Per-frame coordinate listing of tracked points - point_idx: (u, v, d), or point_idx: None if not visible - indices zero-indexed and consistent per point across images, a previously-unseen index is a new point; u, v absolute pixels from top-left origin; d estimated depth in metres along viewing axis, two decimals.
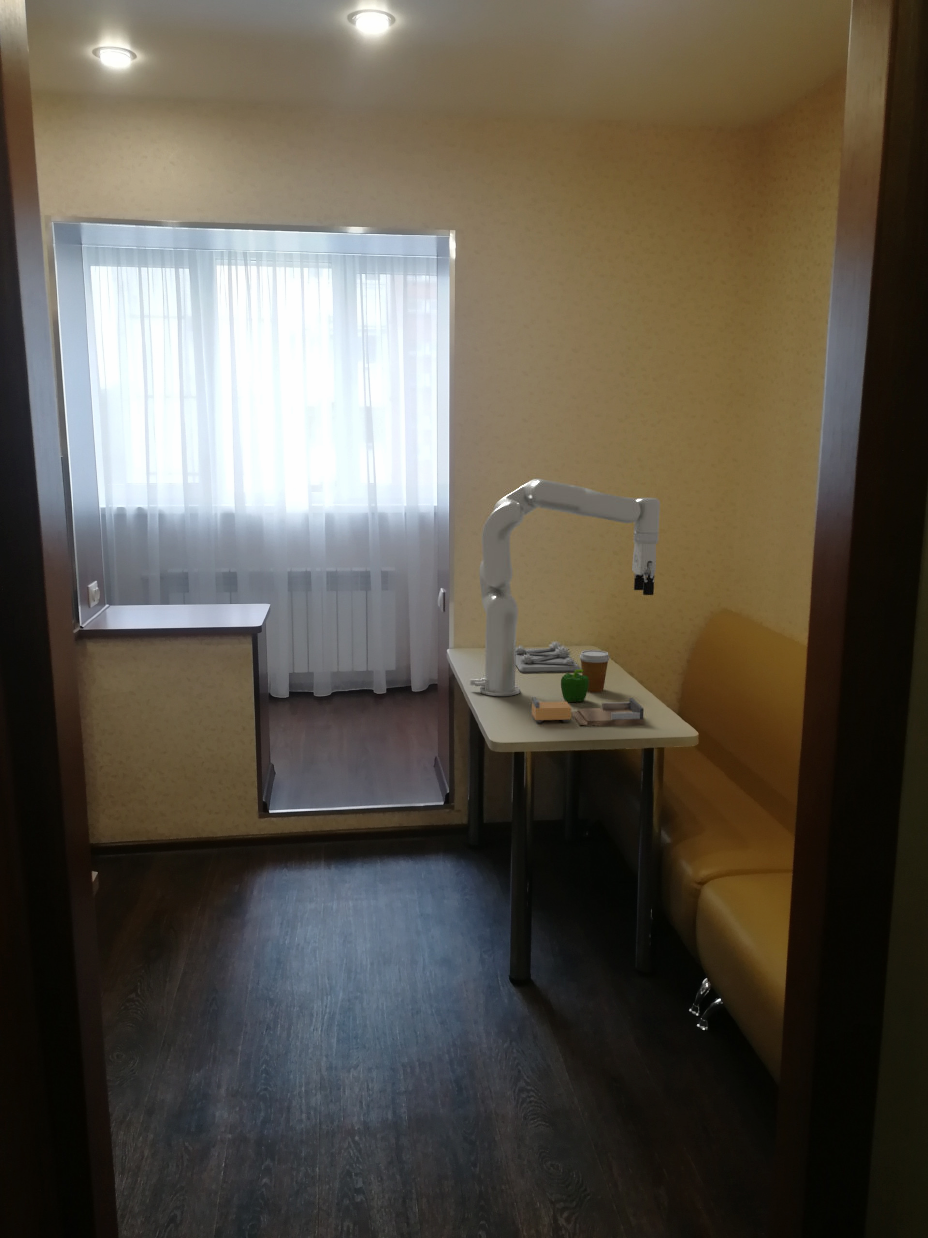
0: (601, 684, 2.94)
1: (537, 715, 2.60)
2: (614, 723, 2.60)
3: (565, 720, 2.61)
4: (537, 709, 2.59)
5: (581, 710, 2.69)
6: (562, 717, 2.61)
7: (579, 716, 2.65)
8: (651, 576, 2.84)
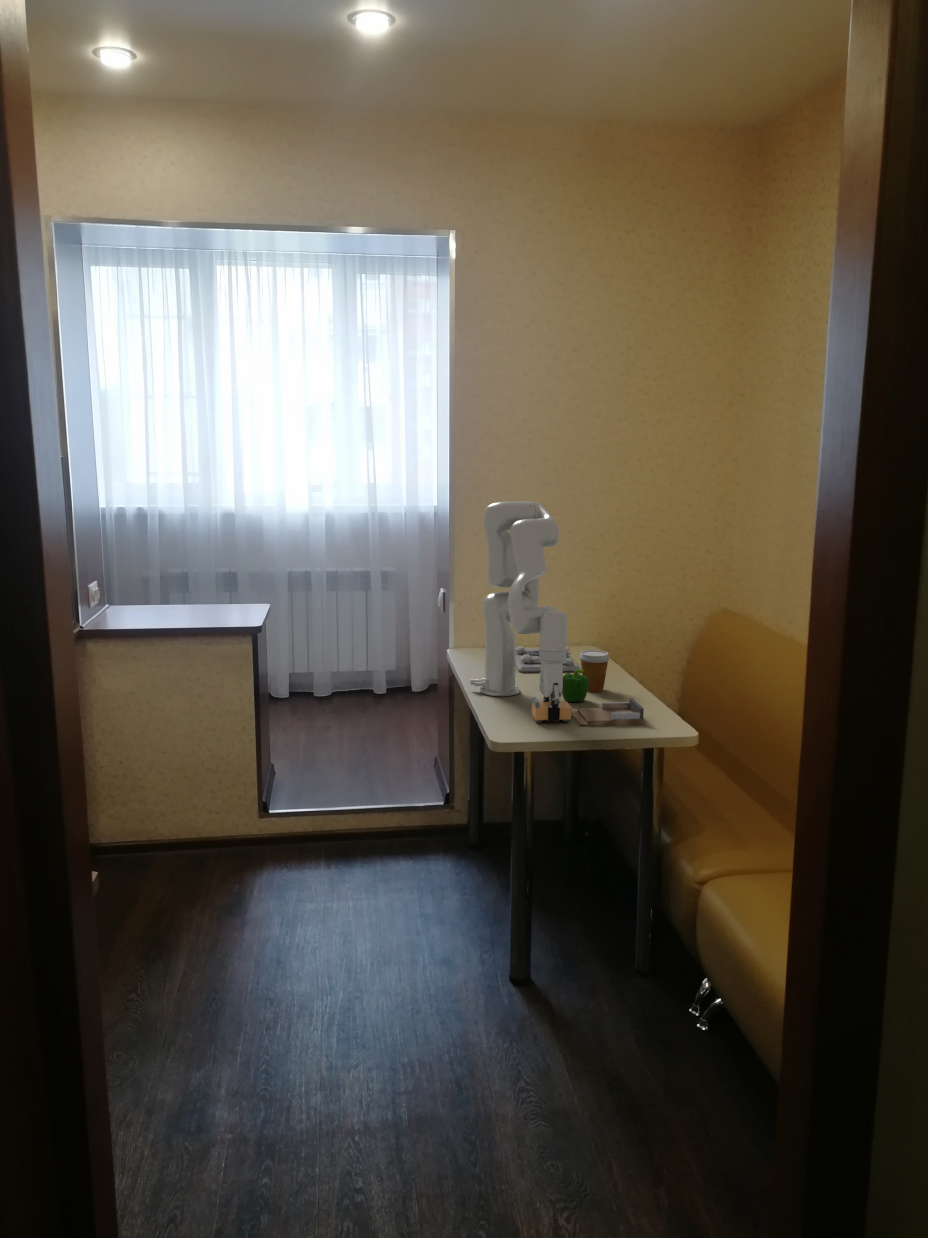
0: (601, 684, 2.94)
1: (537, 715, 2.60)
2: (614, 723, 2.60)
3: (565, 720, 2.61)
4: (537, 709, 2.59)
5: (581, 710, 2.69)
6: (562, 717, 2.61)
7: (579, 716, 2.65)
8: (555, 703, 2.56)
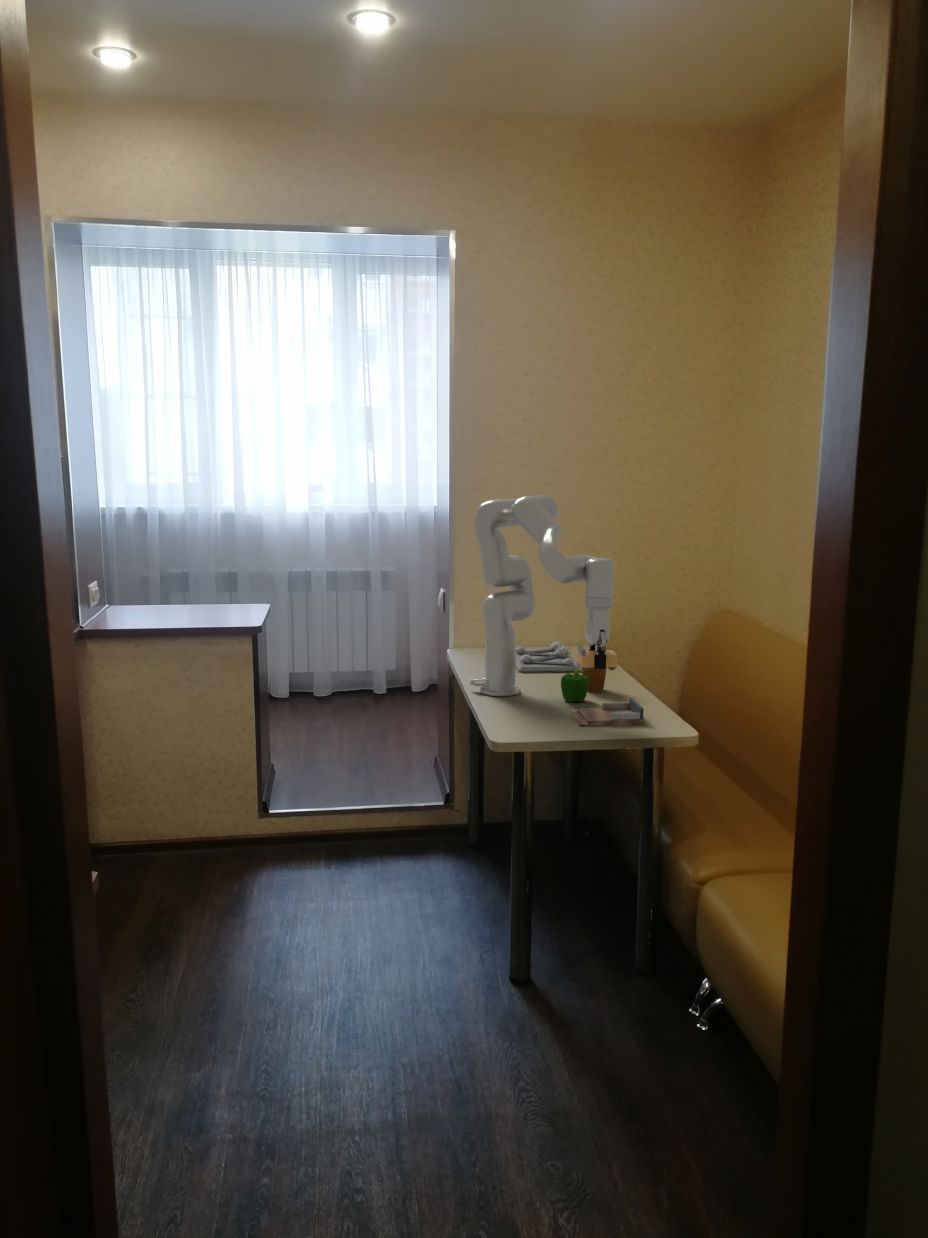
0: (601, 684, 2.94)
1: (583, 662, 2.58)
2: (614, 723, 2.60)
3: (611, 668, 2.59)
4: (583, 656, 2.58)
5: (581, 710, 2.69)
6: (608, 665, 2.59)
7: (579, 716, 2.65)
8: (602, 649, 2.55)
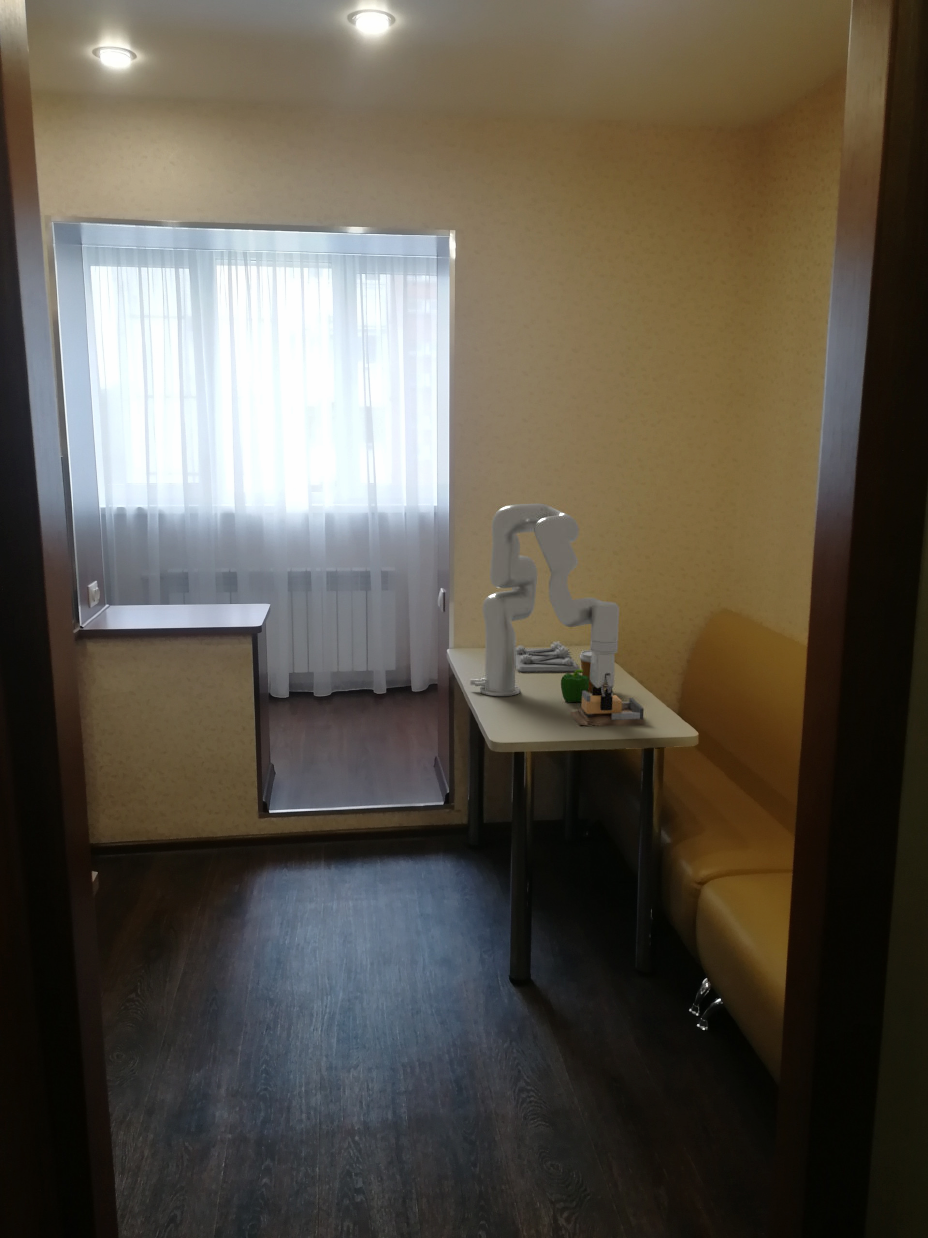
0: None
1: (588, 709, 2.61)
2: (614, 723, 2.60)
3: None
4: (588, 703, 2.61)
5: (581, 710, 2.69)
6: (613, 711, 2.62)
7: (579, 716, 2.65)
8: (609, 691, 2.56)
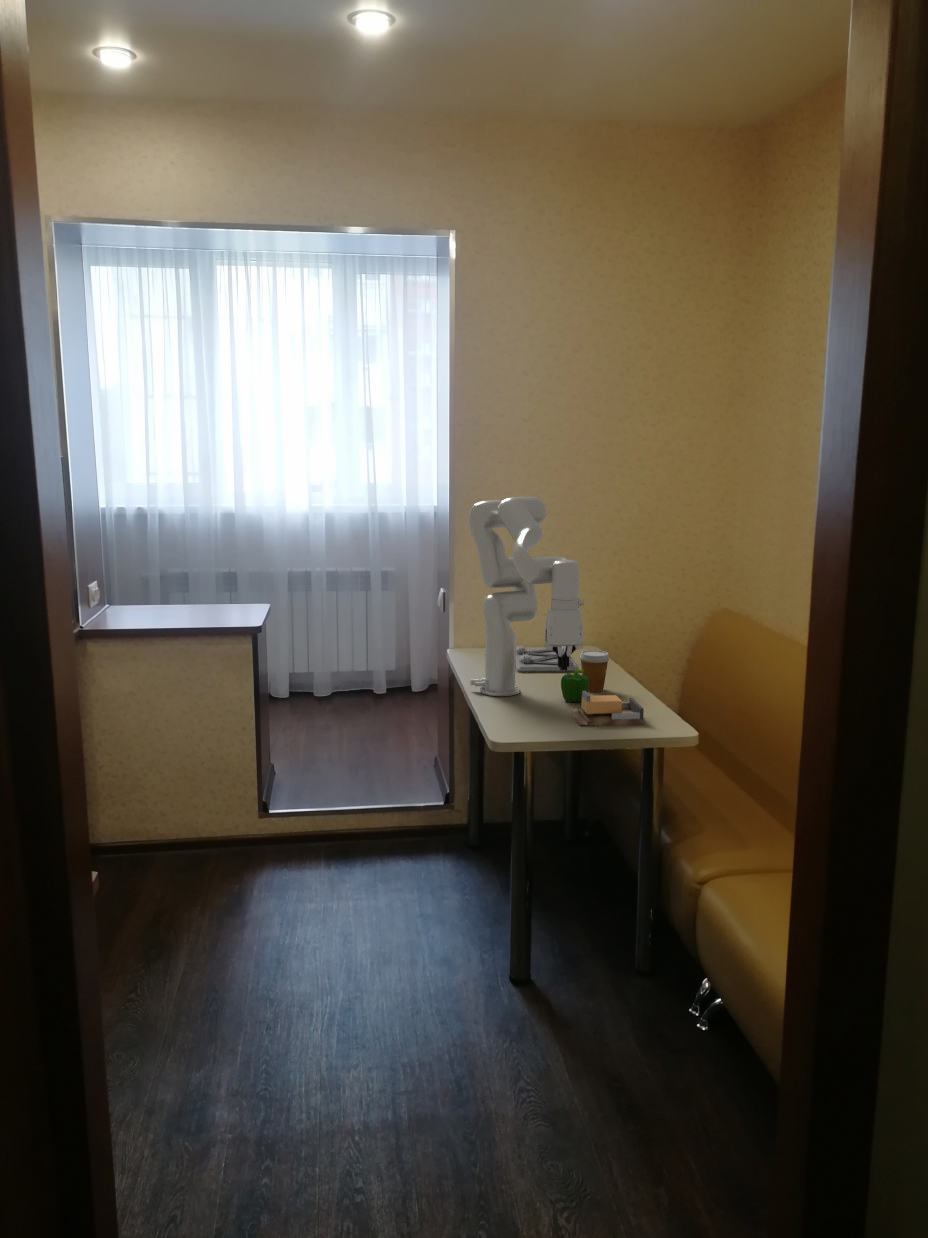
0: (601, 684, 2.94)
1: (588, 709, 2.61)
2: (614, 723, 2.60)
3: None
4: (588, 703, 2.61)
5: (581, 710, 2.69)
6: (613, 711, 2.62)
7: (579, 716, 2.65)
8: None
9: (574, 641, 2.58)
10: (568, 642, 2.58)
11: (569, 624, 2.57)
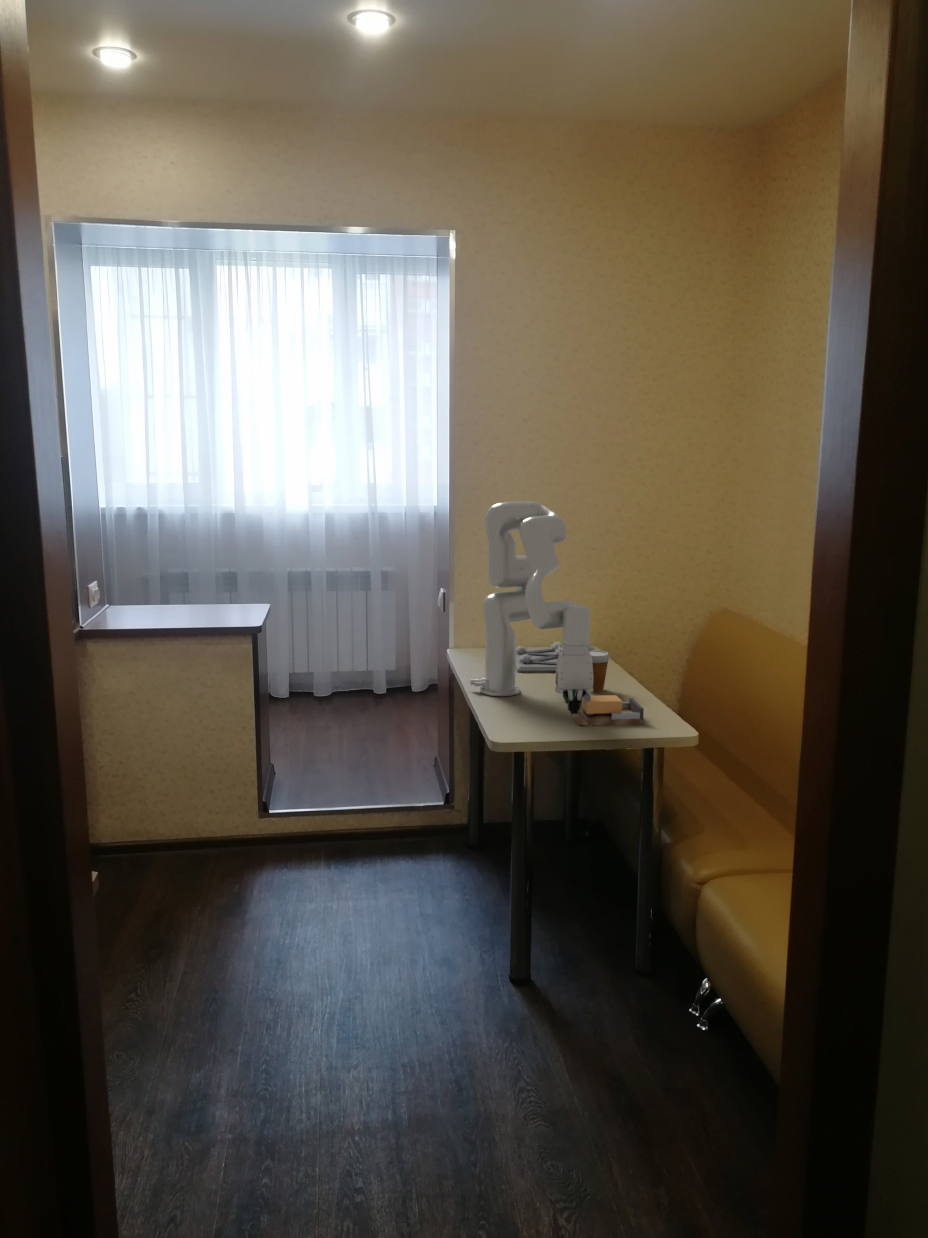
0: (601, 684, 2.94)
1: (588, 709, 2.61)
2: (614, 723, 2.60)
3: None
4: (588, 703, 2.61)
5: (581, 710, 2.69)
6: (613, 711, 2.62)
7: (579, 716, 2.65)
8: None
9: (584, 686, 2.61)
10: (578, 686, 2.61)
11: (579, 669, 2.59)
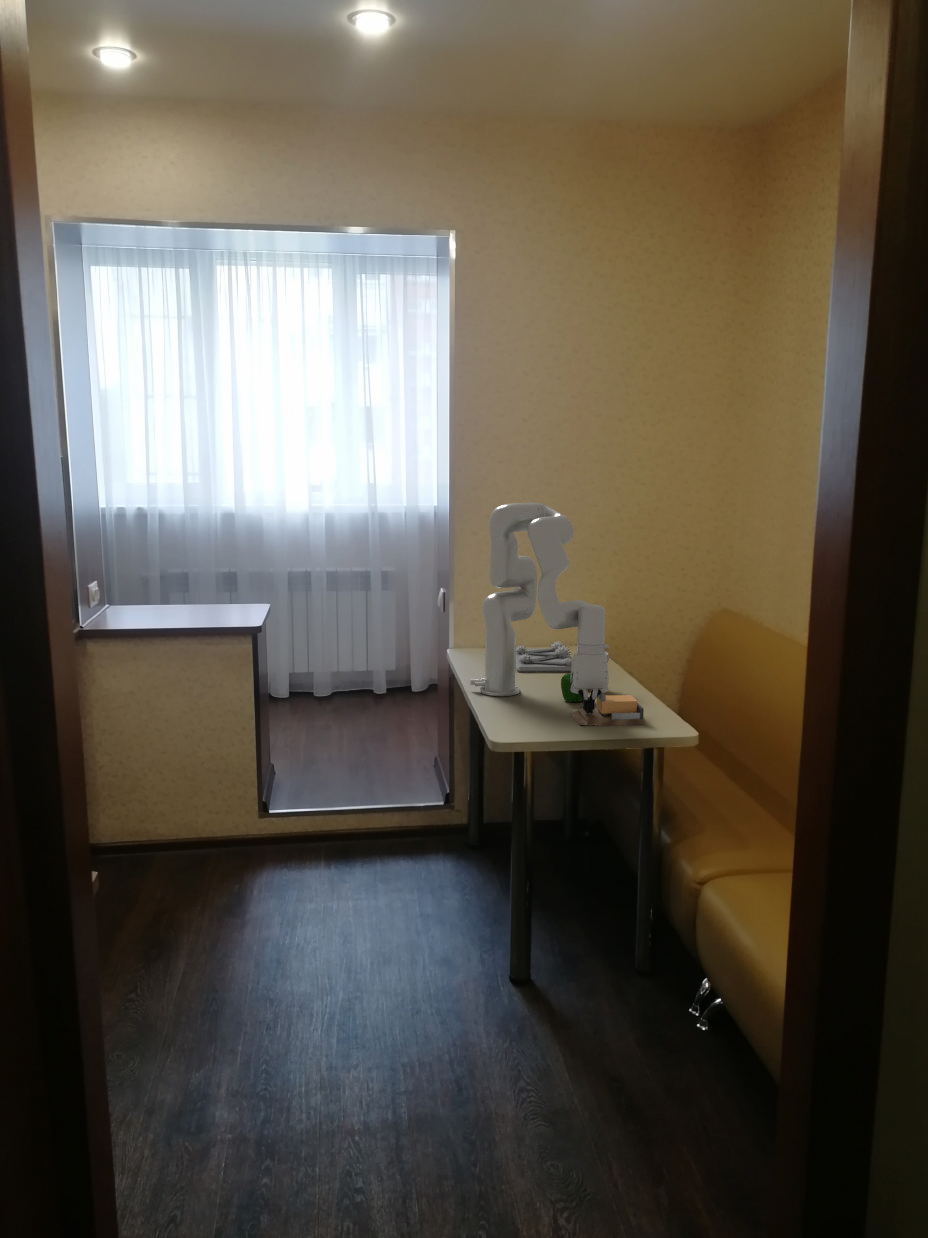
0: None
1: (603, 708, 2.61)
2: (614, 723, 2.60)
3: None
4: (603, 702, 2.61)
5: (581, 710, 2.69)
6: (628, 710, 2.62)
7: (579, 716, 2.65)
8: None
9: (599, 685, 2.61)
10: (594, 686, 2.61)
11: (595, 668, 2.60)
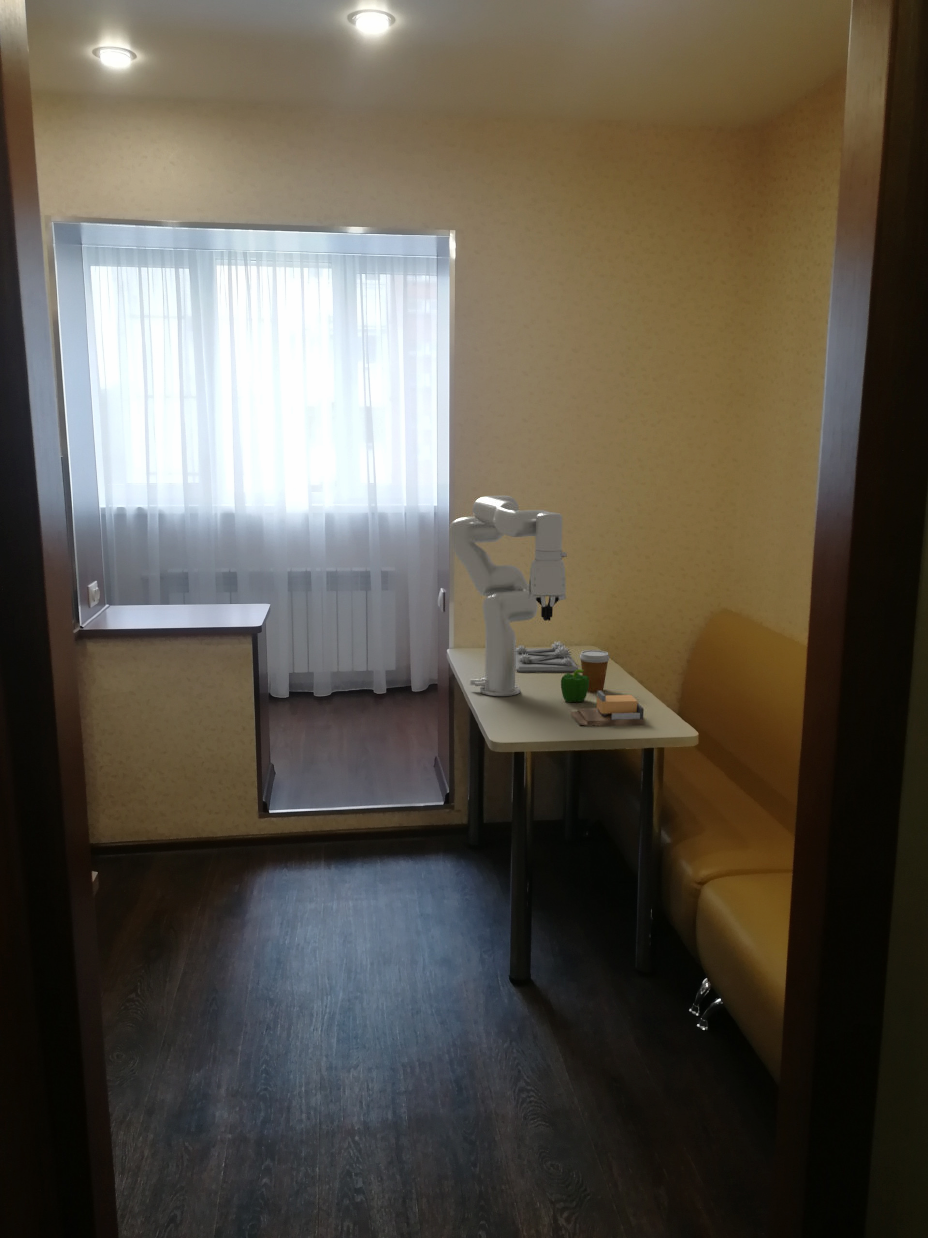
0: (601, 684, 2.94)
1: (603, 708, 2.61)
2: (614, 723, 2.60)
3: None
4: (603, 702, 2.61)
5: (581, 710, 2.69)
6: (628, 710, 2.62)
7: (579, 716, 2.65)
8: (536, 600, 2.67)
9: (556, 592, 2.65)
10: (551, 592, 2.65)
11: (552, 575, 2.64)
